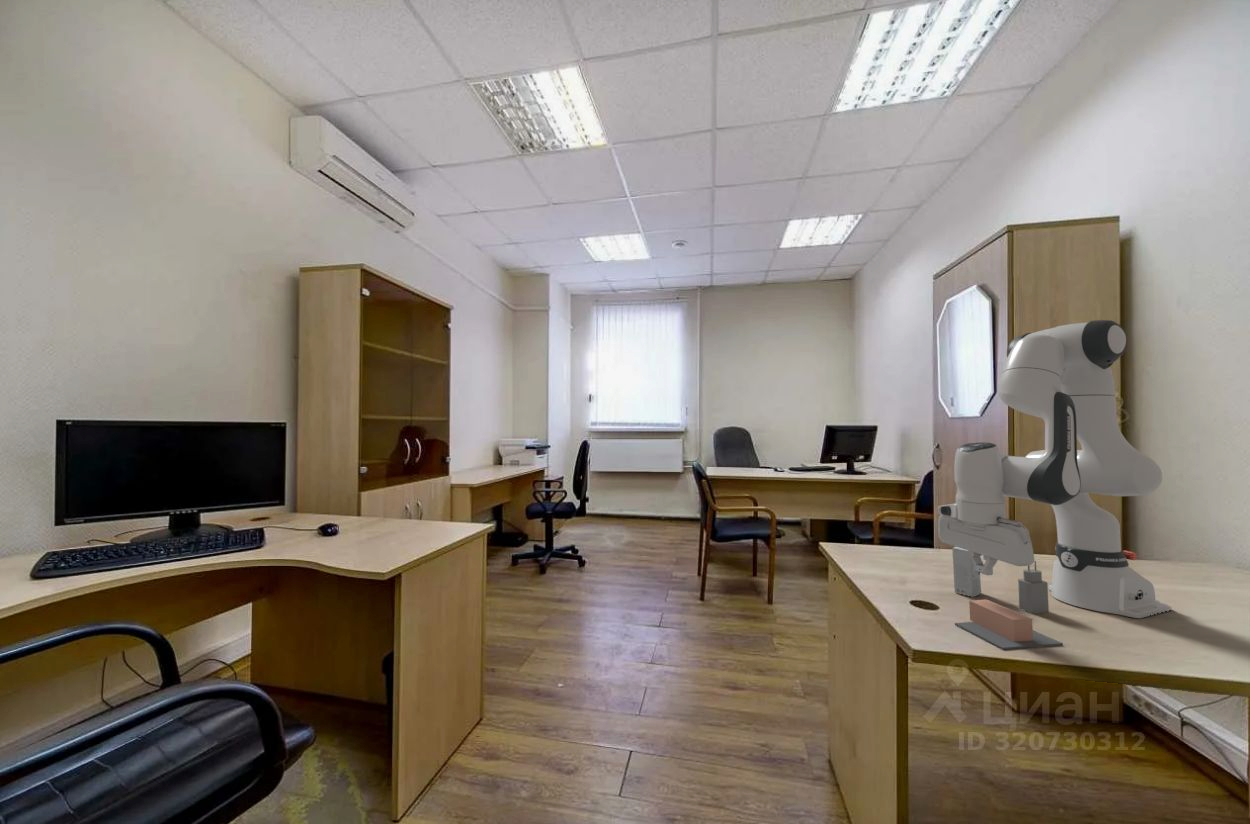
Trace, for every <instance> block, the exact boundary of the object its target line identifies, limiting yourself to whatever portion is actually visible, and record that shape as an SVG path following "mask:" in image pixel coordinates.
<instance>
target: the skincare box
mask: <svg viewBox="0 0 1250 824" xmlns="http://www.w3.org/2000/svg"><path fill="white" fill-rule="evenodd" d="M951 551H952V564H953V566H952V567H953V585H954V586H953V587H954V593H956V594H958V593H960V594H959V595H961V594H963V595H962V596H965V595H968V596H967V597H969V596H971V597H970V598H975V597H976V596H979V595H981V593H982V586H981V585H982V583H981V573H980V572H977V571H975V570H974V563H973V562H972V560H971V558H970V556H969V551H968V550H965V549H962V548H959V547H956V546H953V548H952V550H951Z"/></svg>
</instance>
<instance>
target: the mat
mask: <svg viewBox="0 0 1250 824" xmlns="http://www.w3.org/2000/svg"><path fill="white" fill-rule="evenodd" d="M956 625H957V626H956ZM954 626H956V627H958V626H959V627H958V628H960V629H962V630H964V631H966V632H968V633H969V632H970V633H969V634H971V635H973V636H976V637H977V638H980V639H981V640H983V641H986V642H987V643H989V644H991V645H992V646H995V647H996V648H998V649H1000V650H1004V651H1005V650H1018V649H1028V648H1042V647H1043V648H1044V647H1045V648H1046V647H1056V646H1057V647H1058V646H1064V645H1063V642H1061V641H1059V640H1056V639H1054V638H1052V637H1050V636H1047V635H1045V634H1043V633H1041V632H1039V631H1036V630H1034V629H1033V640H1030V641H1017V642H1014V641H1012V640H1010V639H1008V638H1006V637H1003V636H1001V635H999V634H997V633H995V632H993V631H991V630H989V629H987V628H985V627H983V626H981V625H979V624H977V623H975V622H973V621H968V622H967V621H965V622H955V623H954Z"/></svg>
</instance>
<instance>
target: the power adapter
mask: <svg viewBox="0 0 1250 824" xmlns="http://www.w3.org/2000/svg"><path fill="white" fill-rule="evenodd" d="M1033 564H1034V569H1033V568H1030V566H1031V565H1029V566H1027V569H1022V575H1023V576H1022V578H1018V579H1017V580H1018V581H1017V582H1018V583H1017V584H1018V585H1017V587H1018V609H1019V608H1020V609H1019V610H1021V609H1023V610H1025V611H1024V612H1026V611H1027V612H1026V613H1028V612H1030V613H1029V614H1045V612H1048V613H1049V612H1050V611H1049V610H1050V609H1049V585H1048V581H1046V580H1043V577H1042V571H1041V570H1039V569H1037V560H1034V562H1033ZM1023 610H1022V611H1023Z"/></svg>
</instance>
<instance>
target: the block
mask: <svg viewBox="0 0 1250 824" xmlns="http://www.w3.org/2000/svg"><path fill="white" fill-rule="evenodd" d="M968 603H969V605H968V606H969V621H970V622H975V623H977V624H979V625H981V626H983V627H985V628H987V629H989V630H991V631H993V632H995V633H997V634H999V635H1001V636H1003V637H1006V638H1008V639H1010V640H1012V641H1014V642H1017V641H1030V640H1033V630H1034V628H1033V627H1034V626H1033V618H1031V617H1029V616H1027V615H1025V614H1023V613H1020V612H1017V611H1015V610H1013V609H1011V608H1008V607H1007V606H1006V607H1005V606H1003V605H1001V604H998V603H996V602H994V601H991V600H990V599H989V600H988V599H974V600H969V602H968Z"/></svg>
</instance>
